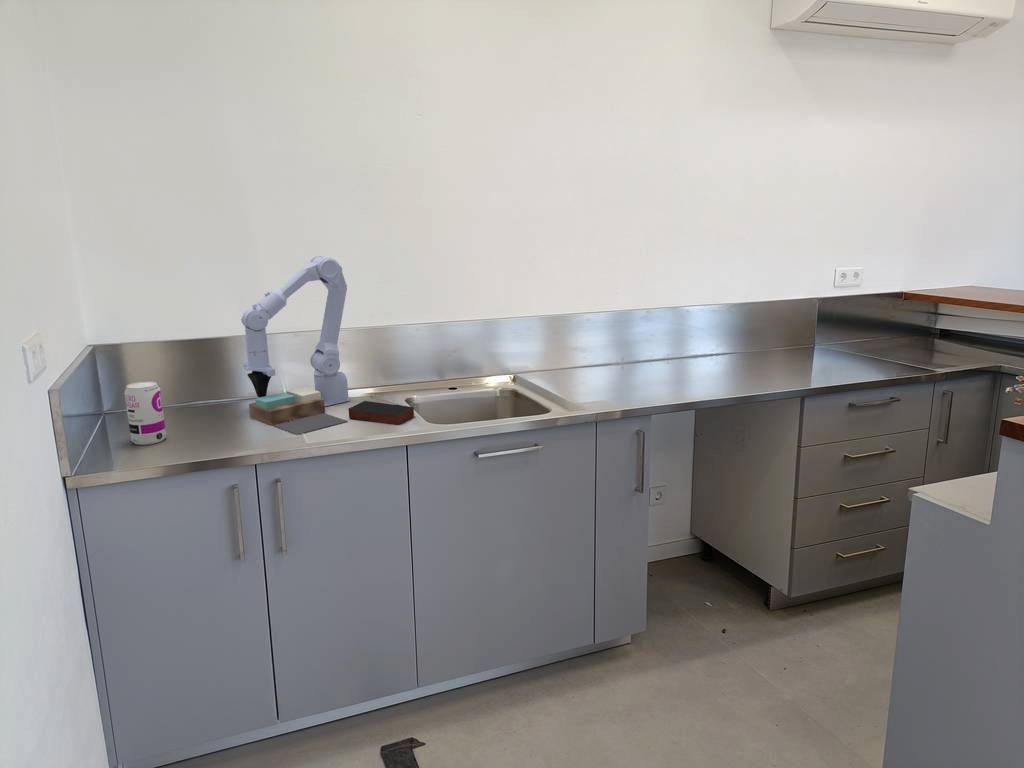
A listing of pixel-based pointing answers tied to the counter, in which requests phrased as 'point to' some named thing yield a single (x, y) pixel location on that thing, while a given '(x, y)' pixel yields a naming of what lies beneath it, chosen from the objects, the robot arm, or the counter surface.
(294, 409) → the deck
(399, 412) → the kitchen sponge
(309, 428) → the mat
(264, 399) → the turquoise block
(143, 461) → the counter surface
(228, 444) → the counter surface
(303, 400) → the cream flat block
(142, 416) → the supplement can
